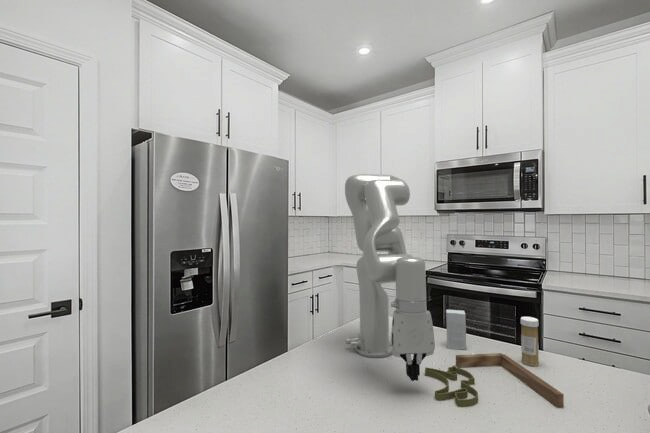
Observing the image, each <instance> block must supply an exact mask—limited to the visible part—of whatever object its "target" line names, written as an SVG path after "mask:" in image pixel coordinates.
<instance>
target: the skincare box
mask: <svg viewBox="0 0 650 433" xmlns="http://www.w3.org/2000/svg"><path fill="white" fill-rule="evenodd" d="M445 314H446V315H445V318H446V319H445V320H446V348H447V349H452V350H453V349H454V350H455V349H456V350H464V351H466V350H467V323H466V312H465V310H461V309H460V310H459V309H457V310H456V309H446V310H445Z"/></svg>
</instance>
